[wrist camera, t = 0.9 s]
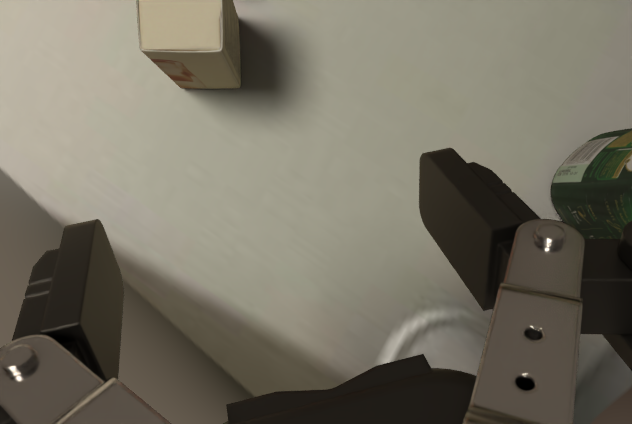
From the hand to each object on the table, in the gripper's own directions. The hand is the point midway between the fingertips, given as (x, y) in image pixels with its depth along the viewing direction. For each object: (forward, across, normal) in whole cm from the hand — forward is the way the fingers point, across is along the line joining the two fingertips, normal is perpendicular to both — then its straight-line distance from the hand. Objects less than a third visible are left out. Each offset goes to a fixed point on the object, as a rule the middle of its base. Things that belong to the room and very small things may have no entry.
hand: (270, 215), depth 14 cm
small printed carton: (+27, 0, +4) cm, 28 cm away
